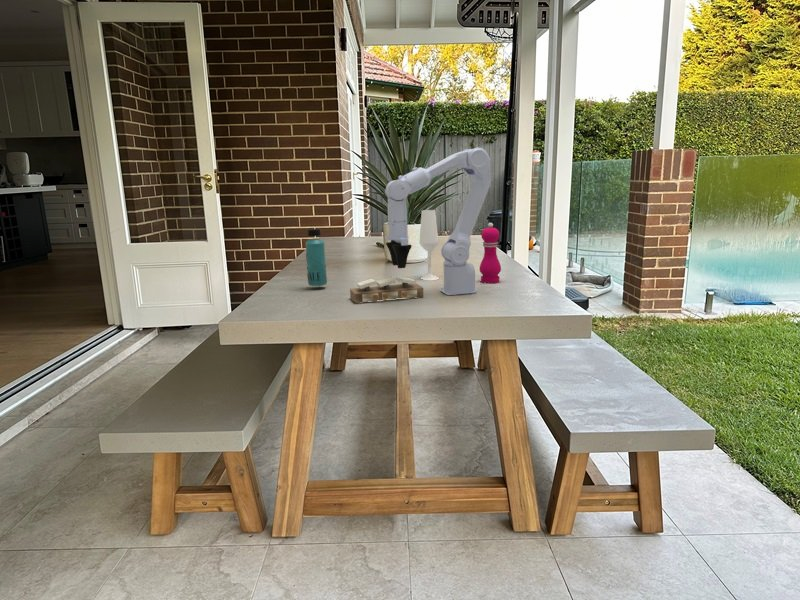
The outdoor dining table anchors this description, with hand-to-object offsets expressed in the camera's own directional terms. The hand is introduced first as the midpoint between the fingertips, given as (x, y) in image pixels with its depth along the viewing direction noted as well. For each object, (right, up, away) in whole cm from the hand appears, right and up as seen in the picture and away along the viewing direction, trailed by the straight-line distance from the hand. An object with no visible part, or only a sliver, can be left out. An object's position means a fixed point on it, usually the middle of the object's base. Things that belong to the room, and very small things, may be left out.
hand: (399, 266), depth 167 cm
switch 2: (-4, -5, 0) cm, 6 cm away
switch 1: (-10, -6, -2) cm, 11 cm away
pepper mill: (+31, -4, +21) cm, 37 cm away
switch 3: (+2, -5, +2) cm, 5 cm away
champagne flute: (+11, -3, +29) cm, 31 cm away
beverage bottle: (-27, -7, +18) cm, 33 cm away
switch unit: (-4, -10, +1) cm, 10 cm away
